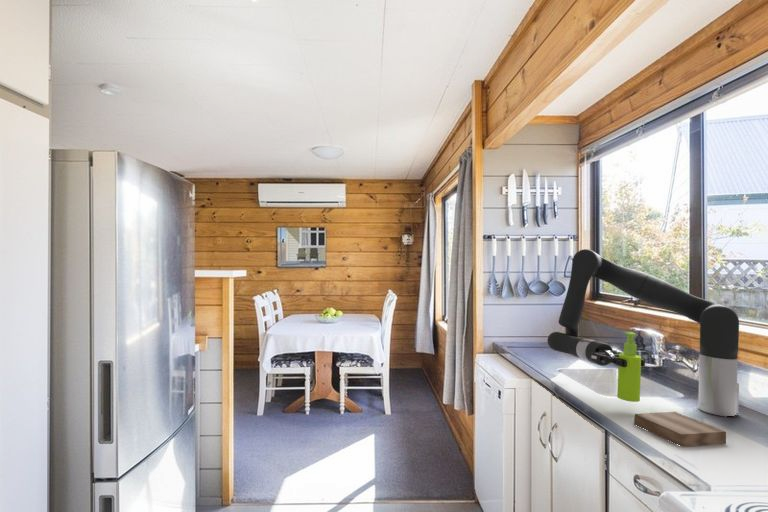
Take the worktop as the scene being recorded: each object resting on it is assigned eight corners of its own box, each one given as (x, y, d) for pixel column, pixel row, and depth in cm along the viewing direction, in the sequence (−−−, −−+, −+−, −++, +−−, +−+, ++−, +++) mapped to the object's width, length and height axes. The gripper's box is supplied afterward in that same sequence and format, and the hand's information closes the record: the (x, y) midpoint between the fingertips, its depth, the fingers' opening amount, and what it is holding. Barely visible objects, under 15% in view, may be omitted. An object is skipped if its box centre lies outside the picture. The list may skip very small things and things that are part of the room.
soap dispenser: (633, 395, 128) (636, 331, 129) (643, 402, 121) (645, 334, 122) (613, 393, 129) (615, 329, 130) (621, 400, 123) (623, 333, 123)
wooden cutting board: (674, 422, 117) (675, 411, 117) (725, 443, 104) (726, 431, 104) (633, 424, 114) (634, 413, 114) (681, 446, 100) (681, 434, 100)
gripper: (576, 340, 138) (615, 351, 122) (612, 340, 141) (655, 350, 125) (575, 363, 138) (614, 376, 121) (611, 362, 141) (654, 375, 125)
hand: (634, 363), depth 123 cm, fingers closed on soap dispenser, 6 cm apart
